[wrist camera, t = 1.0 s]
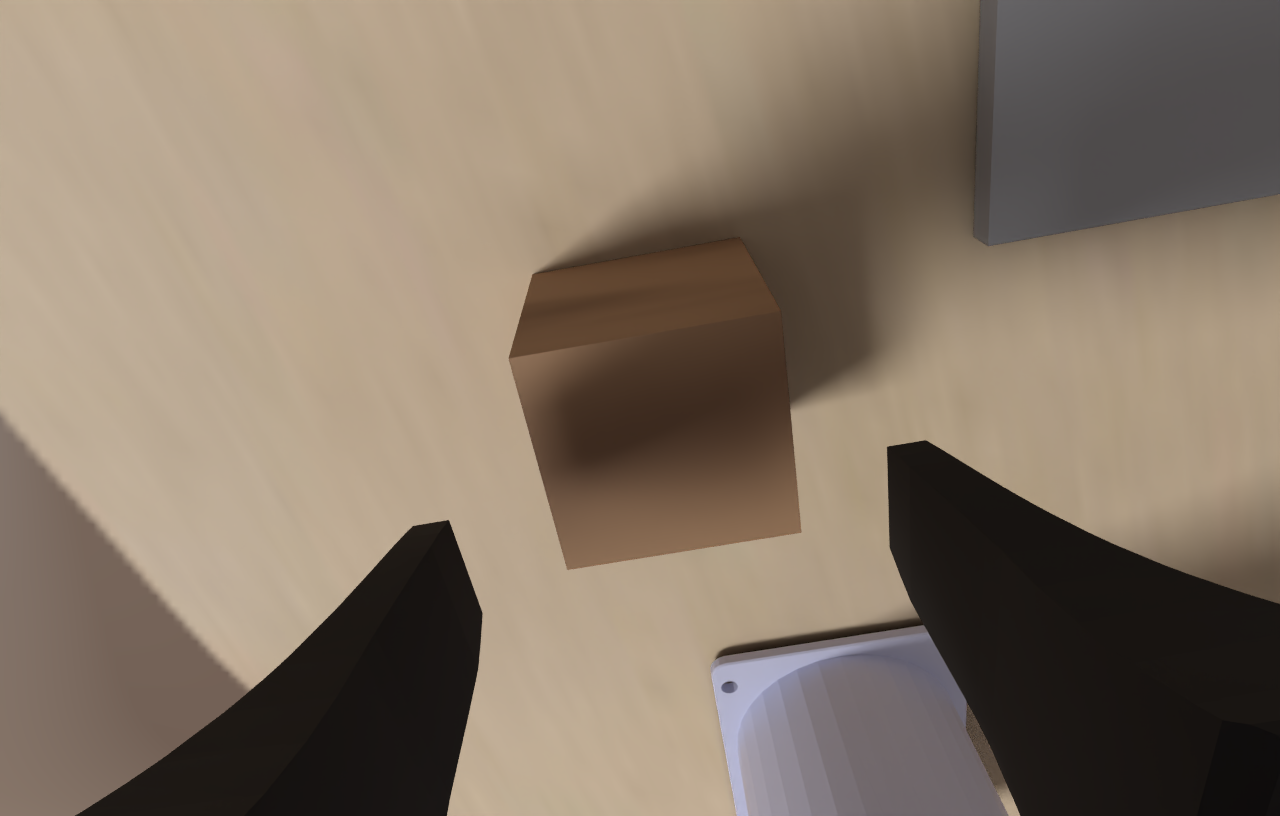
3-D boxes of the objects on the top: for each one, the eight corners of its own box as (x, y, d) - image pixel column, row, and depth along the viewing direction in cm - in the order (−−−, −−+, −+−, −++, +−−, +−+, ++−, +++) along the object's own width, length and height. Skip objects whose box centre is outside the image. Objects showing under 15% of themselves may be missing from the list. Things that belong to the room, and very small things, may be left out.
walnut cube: (760, 418, 20) (801, 532, 16) (576, 449, 21) (567, 570, 16) (739, 236, 18) (781, 310, 14) (532, 273, 18) (508, 358, 14)
